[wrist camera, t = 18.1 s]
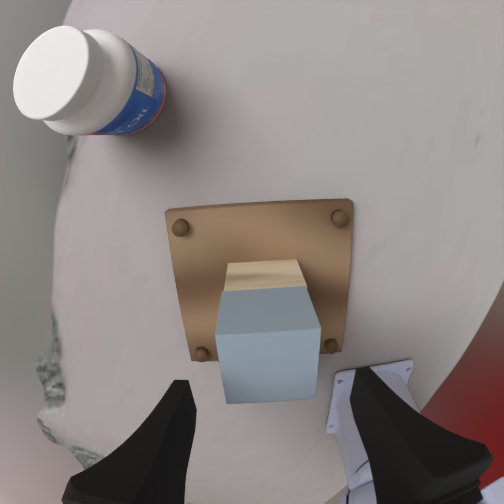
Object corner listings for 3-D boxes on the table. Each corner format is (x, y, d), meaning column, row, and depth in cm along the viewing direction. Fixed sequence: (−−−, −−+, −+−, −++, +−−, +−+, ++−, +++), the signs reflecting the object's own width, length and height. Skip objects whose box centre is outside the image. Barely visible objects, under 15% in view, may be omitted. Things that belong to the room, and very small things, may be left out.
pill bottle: (104, 146, 18) (9, 159, 9) (89, 77, 16) (-3, 53, 7) (177, 120, 18) (114, 103, 9) (160, 48, 16) (96, -12, 7)
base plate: (338, 344, 24) (343, 357, 22) (193, 353, 24) (190, 366, 22) (348, 198, 20) (356, 203, 18) (168, 208, 20) (161, 214, 18)
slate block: (303, 350, 18) (315, 397, 14) (230, 355, 18) (226, 403, 14) (305, 285, 16) (321, 327, 12) (221, 291, 16) (214, 335, 13)
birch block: (296, 317, 22) (305, 351, 18) (233, 320, 22) (231, 356, 18) (296, 259, 20) (307, 286, 16) (227, 263, 20) (223, 291, 16)
